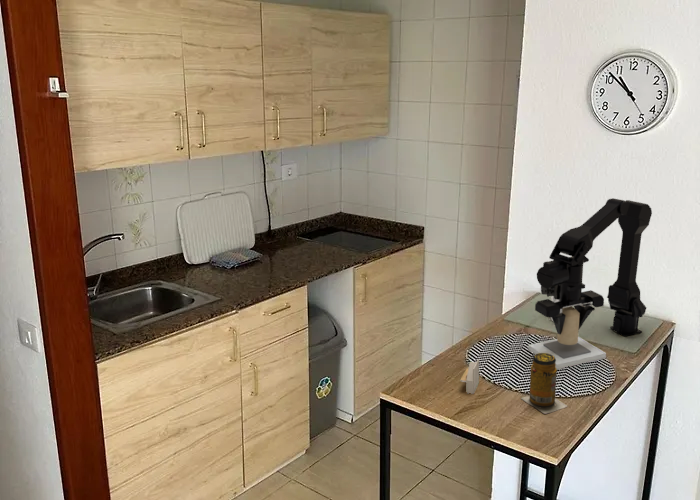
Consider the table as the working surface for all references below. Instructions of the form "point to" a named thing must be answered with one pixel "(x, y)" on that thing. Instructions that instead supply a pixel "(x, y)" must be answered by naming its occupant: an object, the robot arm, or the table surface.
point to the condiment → (543, 384)
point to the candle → (569, 327)
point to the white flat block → (568, 352)
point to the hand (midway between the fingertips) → (568, 331)
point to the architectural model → (471, 377)
